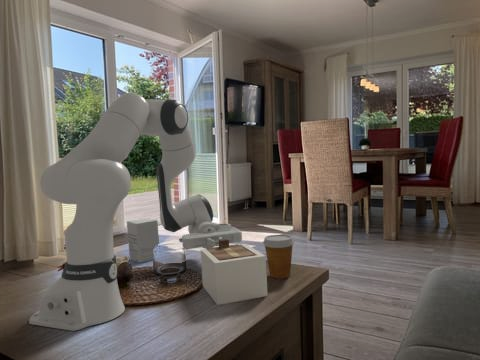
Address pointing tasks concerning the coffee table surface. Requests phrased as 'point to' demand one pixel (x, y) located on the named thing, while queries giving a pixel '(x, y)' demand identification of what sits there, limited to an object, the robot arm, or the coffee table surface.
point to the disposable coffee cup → (279, 255)
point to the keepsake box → (234, 276)
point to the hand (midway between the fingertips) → (217, 243)
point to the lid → (229, 251)
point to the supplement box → (142, 239)
